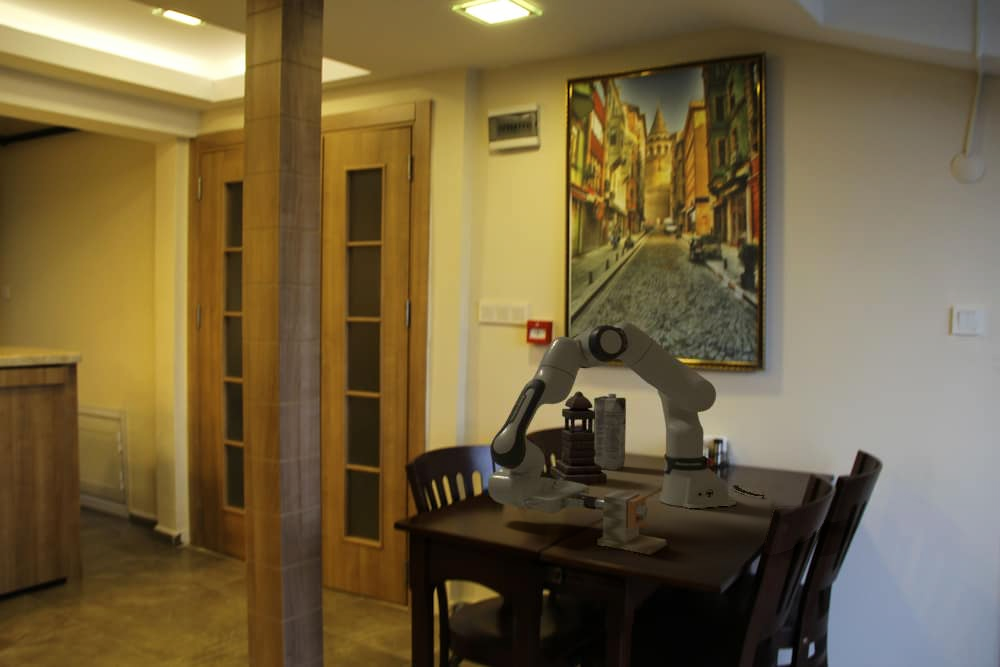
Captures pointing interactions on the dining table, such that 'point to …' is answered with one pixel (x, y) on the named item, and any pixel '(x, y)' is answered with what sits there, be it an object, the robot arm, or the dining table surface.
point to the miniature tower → (578, 445)
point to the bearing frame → (624, 526)
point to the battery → (610, 431)
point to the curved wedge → (745, 491)
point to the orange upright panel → (632, 520)
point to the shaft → (598, 504)
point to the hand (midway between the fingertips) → (588, 502)
